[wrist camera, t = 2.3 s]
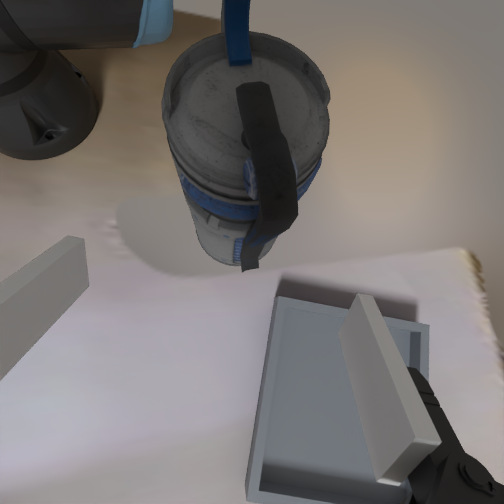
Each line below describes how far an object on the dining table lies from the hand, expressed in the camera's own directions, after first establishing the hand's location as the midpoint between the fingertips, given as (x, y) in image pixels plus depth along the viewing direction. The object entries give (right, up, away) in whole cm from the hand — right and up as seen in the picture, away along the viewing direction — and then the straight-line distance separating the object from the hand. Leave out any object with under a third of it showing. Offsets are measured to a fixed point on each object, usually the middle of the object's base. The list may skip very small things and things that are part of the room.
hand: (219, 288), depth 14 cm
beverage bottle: (0, +4, +24) cm, 24 cm away
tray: (+11, -15, +20) cm, 27 cm away
